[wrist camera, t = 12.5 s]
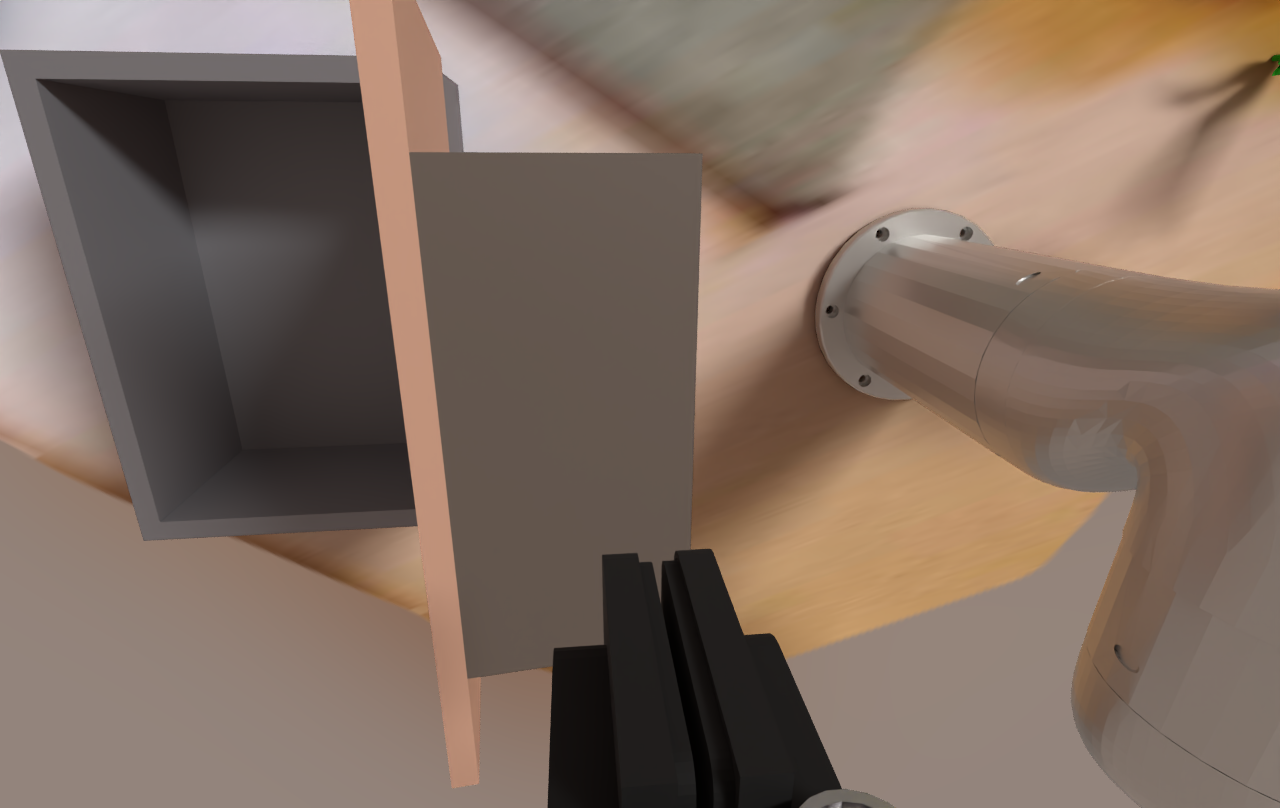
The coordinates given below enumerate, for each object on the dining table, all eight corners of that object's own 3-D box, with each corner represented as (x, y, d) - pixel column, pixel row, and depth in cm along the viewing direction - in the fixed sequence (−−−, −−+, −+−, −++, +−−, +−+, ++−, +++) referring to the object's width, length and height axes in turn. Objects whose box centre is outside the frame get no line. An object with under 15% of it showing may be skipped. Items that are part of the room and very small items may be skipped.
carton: (457, 85, 37) (421, 56, 27) (488, 447, 44) (468, 523, 35) (150, 81, 35) (-1, 49, 26) (236, 458, 42) (143, 540, 33)
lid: (420, 56, 27) (595, 62, 29) (467, 524, 35) (604, 509, 36) (339, -75, 12) (708, -49, 14) (452, 788, 20) (684, 746, 21)
